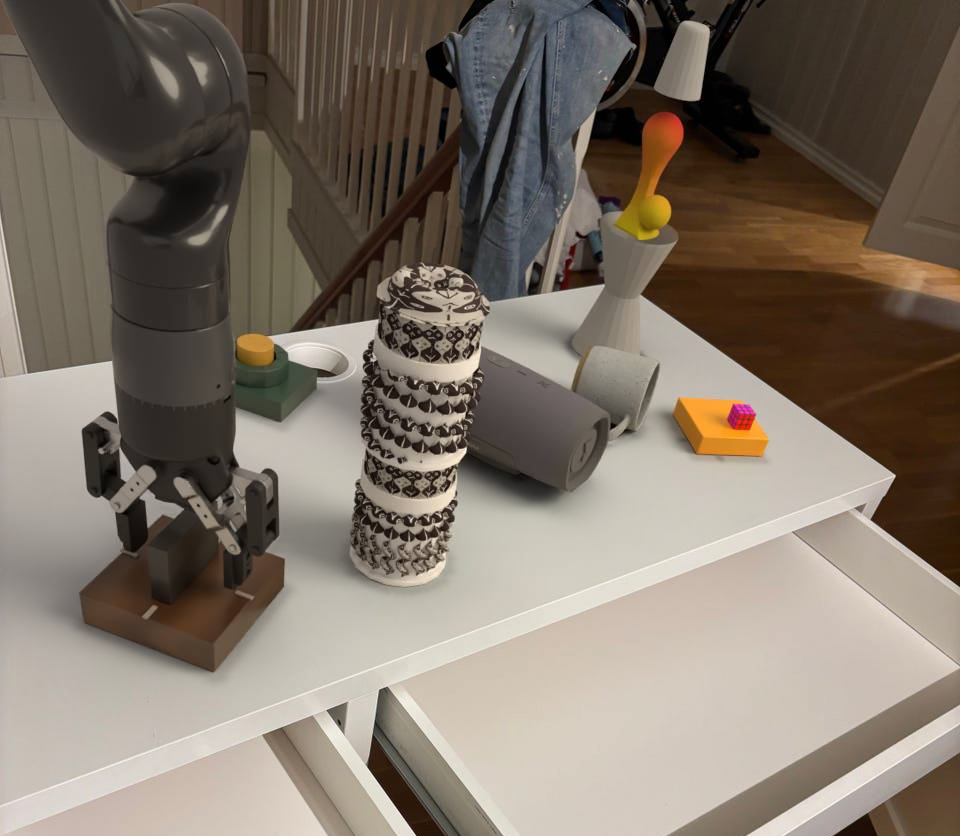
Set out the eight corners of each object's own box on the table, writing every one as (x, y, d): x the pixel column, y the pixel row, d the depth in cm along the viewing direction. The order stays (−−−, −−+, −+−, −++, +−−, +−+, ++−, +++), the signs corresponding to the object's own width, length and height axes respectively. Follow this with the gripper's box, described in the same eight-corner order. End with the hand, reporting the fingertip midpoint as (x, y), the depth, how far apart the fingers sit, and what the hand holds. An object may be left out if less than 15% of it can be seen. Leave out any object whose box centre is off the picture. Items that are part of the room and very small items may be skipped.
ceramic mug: (580, 389, 111) (596, 327, 106) (648, 412, 110) (668, 350, 105) (552, 432, 104) (567, 367, 99) (624, 457, 103) (644, 393, 97)
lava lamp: (555, 339, 120) (632, 10, 96) (605, 326, 125) (691, 10, 101) (606, 374, 115) (701, 38, 91) (656, 359, 120) (758, 37, 96)
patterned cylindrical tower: (331, 575, 82) (355, 289, 64) (360, 512, 88) (388, 238, 71) (438, 600, 81) (489, 321, 64) (458, 536, 88) (509, 267, 71)
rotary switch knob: (170, 604, 72) (166, 549, 68) (151, 597, 72) (146, 542, 68) (219, 552, 77) (217, 498, 73) (201, 545, 77) (198, 491, 73)
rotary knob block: (81, 622, 73) (76, 591, 71) (164, 541, 81) (162, 511, 79) (215, 673, 72) (214, 643, 69) (286, 586, 80) (287, 556, 77)
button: (230, 360, 97) (229, 344, 95) (248, 345, 99) (248, 329, 98) (262, 371, 96) (263, 355, 95) (280, 356, 99) (280, 340, 97)
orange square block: (696, 454, 105) (709, 420, 103) (672, 414, 111) (683, 380, 108) (762, 456, 107) (776, 423, 105) (735, 417, 113) (748, 384, 110)
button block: (190, 392, 98) (189, 355, 95) (231, 359, 104) (230, 324, 101) (280, 423, 97) (281, 387, 94) (316, 388, 102) (318, 353, 100)
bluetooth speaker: (599, 480, 99) (625, 392, 92) (552, 519, 92) (577, 428, 86) (420, 388, 106) (432, 301, 99) (366, 419, 100) (375, 328, 93)
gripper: (40, 361, 61) (72, 561, 72) (246, 432, 59) (246, 626, 70) (112, 316, 66) (131, 508, 77) (302, 380, 64) (294, 567, 75)
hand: (185, 564), depth 74 cm, fingers open, 8 cm apart
